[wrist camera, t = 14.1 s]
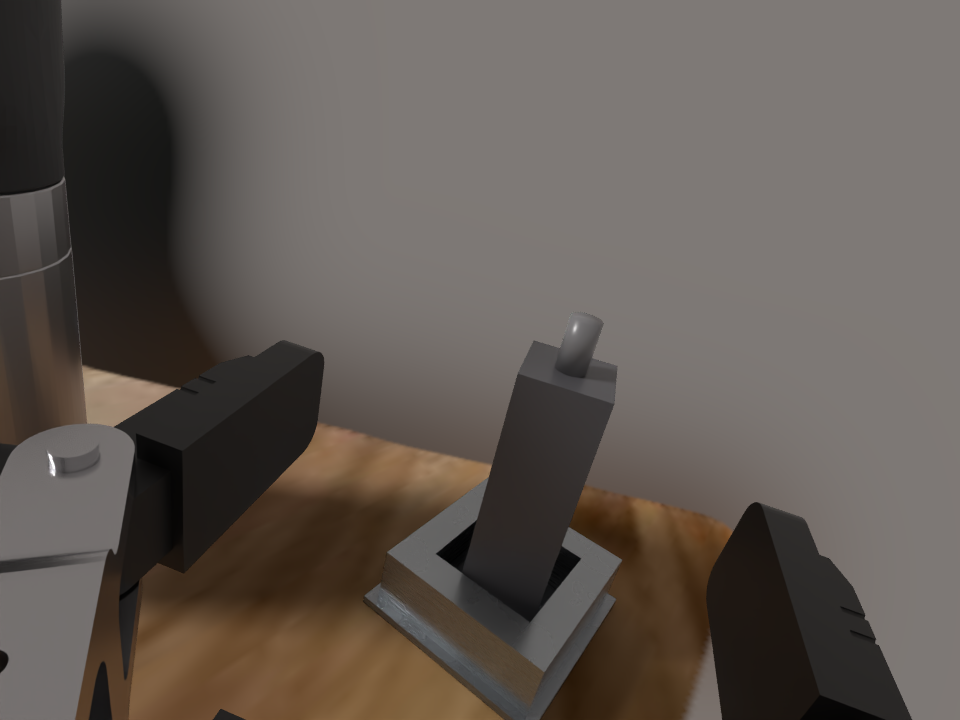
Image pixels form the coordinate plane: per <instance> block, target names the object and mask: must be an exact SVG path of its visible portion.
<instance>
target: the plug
mask: <svg viewBox="0 0 960 720" xmlns="http://www.w3.org/2000/svg"><path fill="white" fill-rule="evenodd" d="M603 324H604V323H603V322H602V320H600V319H599V318H597V317H595V316H593V315H590V314H587V313H581V312H573V313H571V315H570V318H569V322H568V325H567V328H566V331H565V334H564V338H563V341H562V344H561V347H560V348H557V347H553V346H550V345H547V344H544V343H540V342H537V341H533V344H532V346H531V347H530V350H529V352H528V354H527V356H526V358H525V360H524V362H523V364H522V366H521V368H520V370H519V372H518V375H517V378H516V382H515V385H514V389H513V393H512V396H511V400H510V403H509V407H508V410H507V414H506V418H505V421H504V425H503V428H502V432H501V436H500V439H499V443H498V446H497V450H496V453H495V457H494V460H493V464H492V468H491V471H490V475H489V478H488V482H487V485H486V489H485V493H484V496H483V500H482V503H481V507H480V510H479V514H478V518H477V521H476V525H475V528H474V532H473V535H472V539H471V543H470V546H469V550H468V553H467V557H466V560H465V564H464V568H463V571H462V573H463V574H464V575H465V576H467V577H468V578H469V579H471V580H472V581H474V582H475V583H476V584H478V585H479V586H480V587H482V588H483V589H485V590H486V591H487V592H489V593H490V594H491V595H493V596H494V597H496V598H497V599H498V600H500V601H501V602H502V603H504V604H505V605H507V606H508V607H509V608H511V609H512V610H513V611H515V612H516V613H518V614H519V615H520V616H522V617H523V618H524V619H526V620H527V621H529V622H531V621H532V620H533V618H534V617H535V616H536V614H537V611H538V608H539V605H540V603H541V600H542V597H543V595H544V592H545V589H546V587H547V584H548V581H549V579H550V576H551V573H552V570H553V568H554V565H555V562H556V560H557V557H558V554H559V552H560V549H561V546H562V544H563V541H564V538H565V535H566V533H567V530H568V527H569V525H570V522H571V519H572V517H573V514H574V511H575V509H576V506H577V503H578V500H579V498H580V495H581V492H582V490H583V487H584V484H585V482H586V479H587V476H588V473H589V471H590V468H591V465H592V463H593V460H594V457H595V455H596V452H597V449H598V446H599V444H600V441H601V438H602V436H603V433H604V430H605V428H606V425H607V422H608V420H609V417H610V414H611V412H612V409H613V406H614V401H615V389H616V377H617V366H615V365H612V364H609V363H606V362H602V361H599V360H596V359H592V356H593V353H594V351H595V348H596V344H597V342H598V338H599V336H600V333H601V330H602V327H603Z"/></svg>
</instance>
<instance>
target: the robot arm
mask: <svg viewBox="0 0 960 720" xmlns="http://www.w3.org/2000/svg"><path fill="white" fill-rule="evenodd" d="M64 69H65V68H64V51H63V36H62V15H61V0H0V720H129V703H130V692H131V684H132V675H133V667H134V658H135V650H136V641H137V633H138V624H139V616H140V607H141V598H142V590H143V581H142V577H143V576H144V575H145V574H146V573H147V572H148V571H149V570H150V569H151V568H152V567H154V566H155V565H156V564H157V563H160V564H162V565H164V566H167V567H169V568H172V569H174V570H177V571H179V572H181V573H185V572H186V571H187V570H188V569H189V568H190V567H191V566H192V565H193V564H194V563H195V562H196V561H197V560H198V559H199V558H200V557H201V556H202V555H203V554H204V553H205V551H206V550H207V549H208V548H209V547H210V546H211V545H212V544H213V543H214V542H215V541H216V540H217V539H218V538H219V537H220V536H221V535H222V534H223V533H224V532H225V531H226V530H227V529H228V528H229V527H230V526H231V525H232V524H233V523H234V522H235V521H236V520H237V519H238V518H239V517H240V516H241V515H242V514H243V513H244V512H245V511H246V510H247V509H248V508H249V507H250V506H251V505H252V504H253V503H254V502H255V501H256V500H257V499H258V498H259V497H260V496H261V495H262V494H263V493H264V492H265V491H266V490H267V489H268V488H269V487H270V486H271V485H272V484H273V483H274V482H275V481H276V480H277V479H278V478H279V477H280V475H281V474H282V473H283V472H284V471H285V470H286V469H287V468H288V467H289V466H290V465H291V464H292V463H293V462H294V461H295V460H296V459H297V458H298V457H299V456H300V455H301V454H302V453H303V452H304V451H305V450H306V448H307V447H308V445H309V443H310V442H311V440H312V437H313V435H314V432H315V429H316V426H317V421H318V413H319V404H320V395H321V387H322V379H323V369H324V357H323V355H322V354H321V353H320V352H317V351H315V350H311V349H309V348H306V347H303V346H300V345H297V344H294V343H291V342H288V341H285V340H283V341H280V342H278V343H276V344H275V345H273V346H271V347H270V348H268V349H267V350H265V351H264V352H262V353H261V354H259V355H257V356H256V357H252V356H249V355H248V356H245V357H241V358H237V359H234V360H229V361H226V362H222V363H219V364H218V365H216V366H214V367H213V368H211V369H209V370H208V371H206V372H205V373H203V374H201V375H200V376H199V378H198V379H196V378H195V379H193V380H191V381H190V382H188V383H186V384H185V385H183V386H182V387H181V389H180V390H178V389H176V390H175V391H173V392H171V393H170V394H168V395H166V396H165V397H163V398H161V399H160V400H158V401H156V402H155V403H153V404H151V405H150V406H148V407H146V408H145V409H143V410H141V411H140V412H138V413H136V414H135V415H133V416H131V417H130V418H128V419H126V420H125V421H123V422H121V423H120V424H118V425H116V426H115V427H111V426H106V425H100V424H87V417H86V406H85V394H84V383H83V372H82V360H81V349H80V338H79V327H78V316H77V304H76V292H75V282H74V271H73V258H72V249H71V240H70V230H69V218H68V207H67V196H66V184H65V178H64V174H65V173H64V162H63V151H62V129H63V115H64V99H65V70H64ZM706 600H707V609H708V616H709V624H710V631H711V639H712V646H713V654H714V661H715V668H716V676H717V683H718V690H719V697H720V706H721V713H722V720H912V719H911V716H910V714H909V712H908V710H907V707H906V706H905V703H904V701H903V698H902V696H901V694H900V692H899V689H898V687H897V685H896V683H895V680H894V678H893V676H892V674H891V671H890V670H889V667H888V665H887V662H886V660H885V658H884V656H883V653H882V651H881V649H880V647H879V645H876V644H875V640H876V638H875V636H874V634H873V631H872V629H871V627H870V624H869V622H868V621H867V620H865V619H864V617H865V613H864V611H863V609H862V606H861V604H860V602H859V600H858V597H857V595H856V593H855V591H854V588H853V586H852V585H851V584H850V583H849V582H848V581H847V579H846V578H845V577H844V576H843V574H842V573H841V572H840V571H839V570H838V568H837V567H836V566H835V565H834V564H833V563H832V561H831V560H830V559H829V558H826V557H824V556H821V555H819V553H818V550H817V548H816V545H815V543H814V540H813V538H812V536H811V533H810V531H809V528H808V525H807V523H806V521H805V520H804V519H803V518H802V517H799V516H796V515H793V514H790V513H787V512H785V511H782V510H779V509H776V508H773V507H770V506H767V505H764V504H761V503H758V502H755V503H753V504H751V505H750V506H749V507H748V508H747V509H746V511H745V513H744V514H743V516H742V518H741V519H740V521H739V523H738V524H737V526H736V528H735V530H734V531H733V533H732V535H731V537H730V538H729V540H728V542H727V544H726V545H725V547H724V549H723V551H722V552H721V554H720V556H719V557H718V559H717V561H716V563H715V565H714V566H713V569H712V571H711V574H710V577H709V581H708V586H707V595H706ZM213 720H245V719H243V718H241V717H238V716H236V715H234V714H231V713H229V712H227V711H225V710H222V709H220V710H219V712H218V713H217V715H216V716H215V718H214V719H213Z"/></svg>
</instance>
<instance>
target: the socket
mask: <svg viewBox="0 0 960 720" xmlns="http://www.w3.org/2000/svg"><path fill="white" fill-rule="evenodd" d="M487 482H488V478H487V479H485V480H484V481H483V482H481V483H480V484H479V485H477V486H476V487H475V488H473V489H472V490H471V491H469V492H468V493H467V494H465V495H464V496H462V497H461V498H460V499H458V500H457V501H456V502H454V503H453V504H452V505H450V506H449V507H448V508H446V509H445V510H444V511H442V512H441V513H439V514H438V515H437V516H435V517H434V518H433V519H431V520H430V521H429V522H427V523H426V524H425V525H423V526H422V527H420V528H419V529H418V530H416V531H415V532H414V533H412V534H411V535H410V536H408V537H407V538H406V539H404V540H403V541H402V542H400V543H399V544H397V545H396V546H395V547H393V548H392V549H391V550H389V551H388V552H387V555H386V560H385V565H384V570H383V575H382V580H381V583H380V584H378V585H377V586H376V587H375V588H373V589H372V590H371V591H370V592H368V593H367V594H366V595H364V600H363V602H365V603H366V604H367V605H368V606H369V607H371V608H372V609H373V610H374V611H375V612H377V613H378V614H379V615H380V616H381V617H383V618H384V619H385V620H386V621H387V622H389V623H390V624H391V625H392V626H393V627H395V628H396V629H397V630H398V631H399V632H401V633H402V634H403V635H404V636H405V637H406V638H408V639H409V640H410V641H411V642H412V643H414V644H415V645H416V646H417V647H418V648H420V649H421V650H422V651H423V652H424V653H426V654H427V655H428V656H429V657H430V658H432V659H433V660H434V661H435V662H436V663H438V664H439V665H440V666H441V667H442V668H444V669H445V670H446V671H447V672H448V673H450V674H451V675H452V676H453V677H454V678H456V679H457V680H458V681H459V682H460V683H462V684H463V685H464V686H465V687H466V688H468V689H469V690H470V691H471V692H472V693H474V694H475V695H476V696H477V697H478V698H480V699H481V700H482V701H483V702H484V703H485V704H487V705H488V706H489V707H490V708H491V709H493V710H494V711H495V712H496V713H497V714H499V715H500V716H501V717H502V718H503V719H505V720H540V719H541V718H542V716H543V715H544V713H545V712H546V710H547V708H548V707H549V705H550V704H551V702H552V701H553V699H554V698H555V696H556V694H557V693H558V691H559V690H560V688H561V687H562V685H563V683H564V682H565V680H566V679H567V677H568V676H569V674H570V672H571V671H572V669H573V668H574V666H575V665H576V663H577V661H578V660H579V658H580V657H581V655H582V654H583V652H584V651H585V649H586V647H587V646H588V644H589V643H590V641H591V640H592V638H593V636H594V635H595V633H596V632H597V630H598V629H599V627H600V625H601V624H602V622H603V621H604V619H605V618H606V616H607V615H608V613H609V611H610V610H611V608H612V607H613V605H614V603H615V601H616V598H614V597H612V596H611V595H609V594H608V591H609V589H610V587H611V584H612V582H613V580H614V577H615V575H616V573H617V571H618V568H619V566H620V564H621V561H622V559H620V558H618V557H617V556H615V555H613V554H612V553H610V552H609V551H607V550H605V549H604V548H602V547H600V546H599V545H597V544H596V543H594V542H592V541H591V540H589V539H587V538H586V537H584V536H583V535H581V534H579V533H578V532H576V531H574V530H573V529H571V528H570V527H568V530H567V533H566V535H565V538H564V541H563V544H562V546H561V549H560V552H559V554H558V557H557V560H556V562H555V565H554V568H553V570H552V573H551V576H550V579H549V581H548V584H547V587H546V589H545V592H544V595H543V597H542V600H541V603H540V605H539V608H538V611H537V614H536V616H535V617H534V618H533V620H532V621H531V622H529V621H527V620H526V619H524V618H523V617H522V616H520V615H519V614H518V613H516V612H515V611H513V610H512V609H511V608H509V607H508V606H507V605H505V604H504V603H502V602H501V601H500V600H498V599H497V598H496V597H494V596H493V595H491V594H490V593H489V592H487V591H486V590H485V589H483V588H482V587H480V586H479V585H478V584H476V583H475V582H474V581H472V580H471V579H469V578H468V577H467V576H465V575H464V574H463V573H462V571H463V568H464V564H465V560H466V557H467V553H468V550H469V546H470V543H471V539H472V535H473V532H474V528H475V525H476V521H477V518H478V514H479V510H480V507H481V503H482V500H483V496H484V493H485V489H486V485H487Z"/></svg>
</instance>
